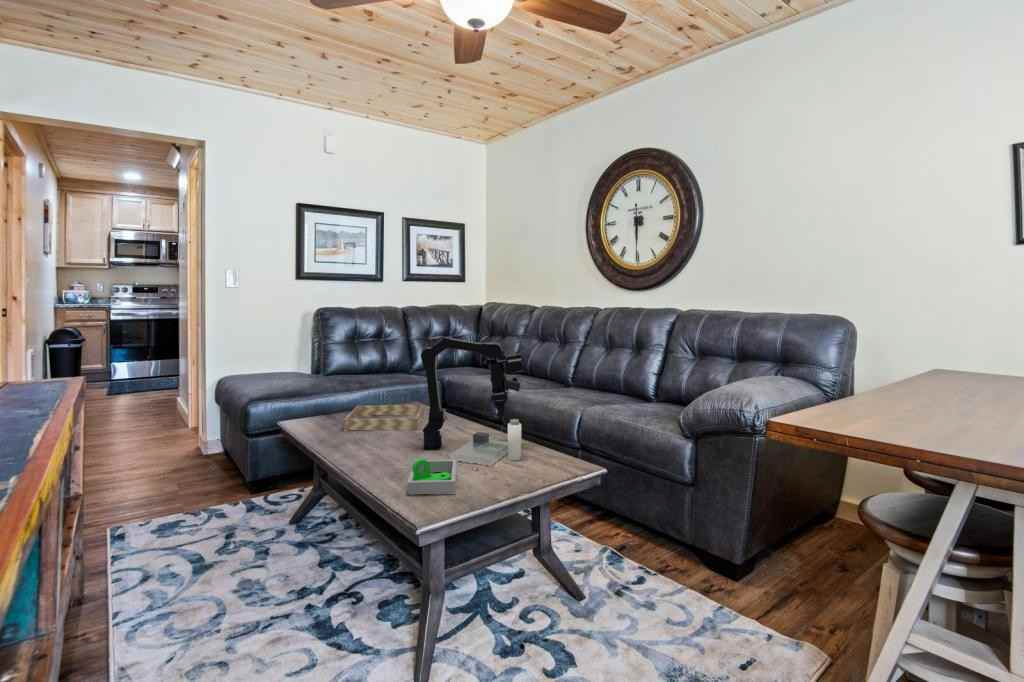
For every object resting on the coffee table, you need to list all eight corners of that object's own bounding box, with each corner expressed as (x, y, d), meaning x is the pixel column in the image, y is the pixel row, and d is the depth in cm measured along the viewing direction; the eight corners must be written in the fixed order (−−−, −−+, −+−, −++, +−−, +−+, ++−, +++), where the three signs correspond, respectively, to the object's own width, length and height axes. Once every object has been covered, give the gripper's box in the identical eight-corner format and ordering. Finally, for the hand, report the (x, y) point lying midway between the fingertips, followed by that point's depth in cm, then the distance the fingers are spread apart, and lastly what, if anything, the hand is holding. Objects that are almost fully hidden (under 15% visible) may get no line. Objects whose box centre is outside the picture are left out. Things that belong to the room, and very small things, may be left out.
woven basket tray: (343, 431, 233) (343, 420, 232) (357, 415, 261) (356, 405, 260) (418, 429, 235) (418, 418, 235) (423, 414, 264) (423, 404, 263)
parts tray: (407, 495, 161) (407, 482, 161) (414, 472, 182) (414, 460, 181) (455, 493, 163) (455, 481, 162) (456, 471, 183) (456, 459, 182)
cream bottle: (508, 461, 194) (508, 422, 192) (507, 456, 199) (507, 418, 197) (521, 460, 194) (521, 421, 193) (520, 456, 199) (520, 418, 198)
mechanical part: (418, 490, 167) (418, 465, 166) (412, 483, 172) (411, 459, 171) (453, 483, 173) (453, 459, 172) (446, 477, 178) (446, 454, 177)
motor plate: (449, 460, 194) (449, 445, 194) (476, 444, 214) (476, 430, 214) (490, 466, 188) (490, 451, 187) (514, 448, 208) (514, 435, 208)
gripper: (518, 375, 197) (523, 416, 199) (517, 368, 216) (522, 405, 217) (488, 379, 197) (494, 420, 199) (490, 371, 216) (495, 409, 217)
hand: (502, 413), depth 208 cm, fingers open, 9 cm apart
